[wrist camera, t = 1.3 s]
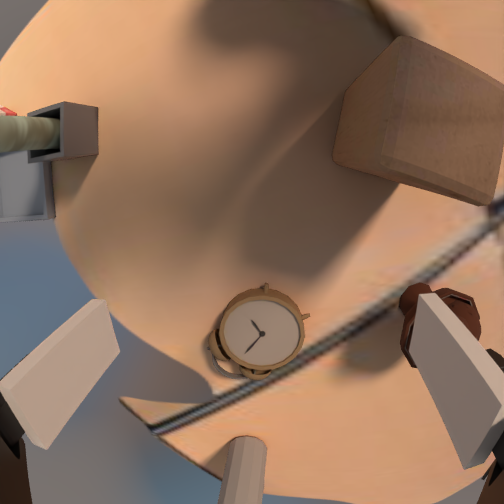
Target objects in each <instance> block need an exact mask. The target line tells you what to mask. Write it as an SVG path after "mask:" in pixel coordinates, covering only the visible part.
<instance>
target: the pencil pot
mask: <svg viewBox="0 0 504 504" xmlns="http://www.w3.org/2000/svg"><path fill="white" fill-rule="evenodd" d="M27 117H44V118H57V119H60V148H58V149H39V150H27V155H28V164H30V163H39V162H48V161H58V160H66V159H72V158H78V157H84V156H90V155H97V154H99V153H98V107H93V106H87V105H82V104H76V103H70V102H61V103H57V104H54V105H51V106H48V107H45V108H42V109H39V110H36V111H33V112H30V113H28V114H27Z"/></svg>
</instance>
